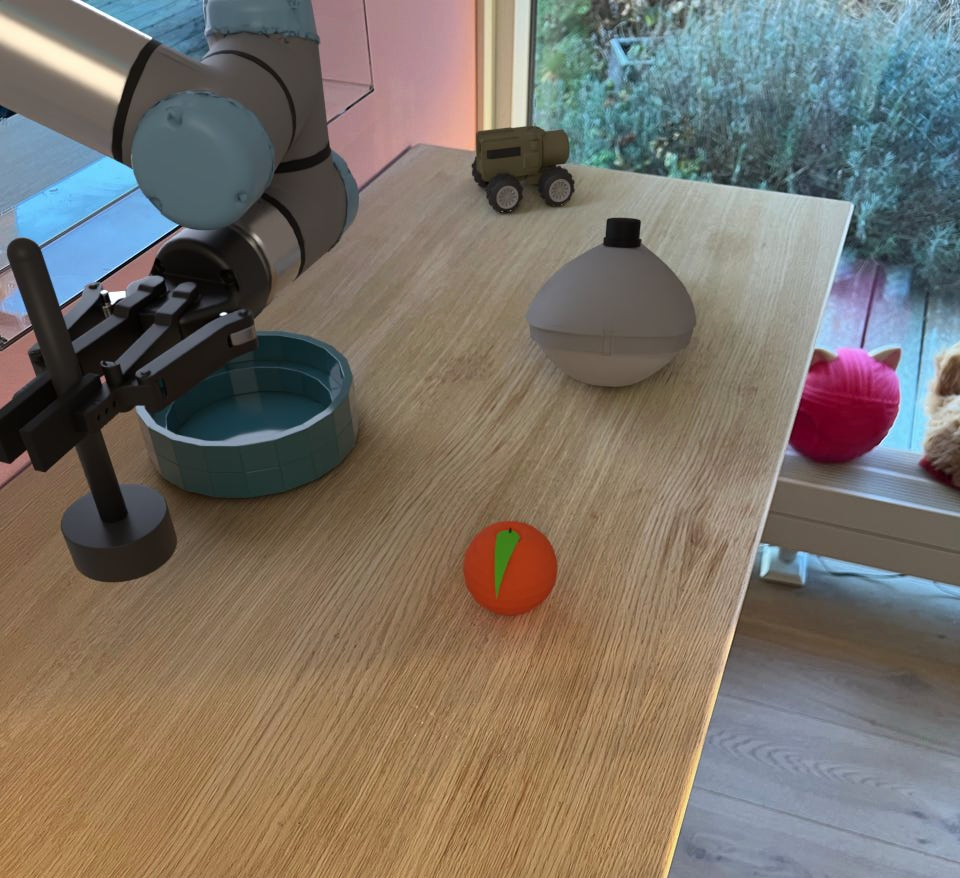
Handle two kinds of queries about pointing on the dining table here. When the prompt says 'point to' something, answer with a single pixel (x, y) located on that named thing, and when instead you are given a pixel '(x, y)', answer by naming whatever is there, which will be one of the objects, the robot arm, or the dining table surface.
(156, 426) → the bowl
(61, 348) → the black peg stand
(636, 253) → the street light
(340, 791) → the dining table surface
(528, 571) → the clementine
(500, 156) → the toy vehicle
